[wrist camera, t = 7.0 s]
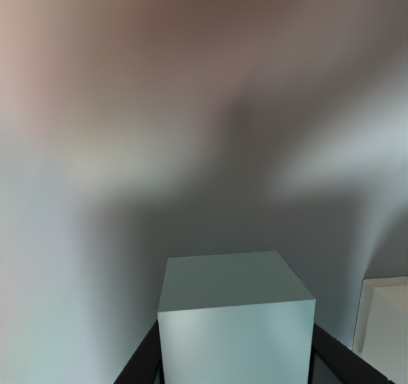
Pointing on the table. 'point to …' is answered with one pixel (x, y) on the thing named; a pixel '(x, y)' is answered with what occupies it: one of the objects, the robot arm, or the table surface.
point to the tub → (384, 327)
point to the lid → (235, 320)
